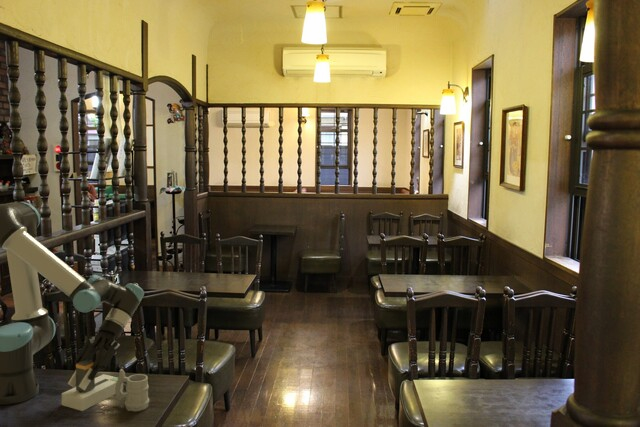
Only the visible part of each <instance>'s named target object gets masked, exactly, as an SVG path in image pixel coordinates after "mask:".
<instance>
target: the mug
mask: <svg viewBox="0 0 640 427" xmlns="http://www.w3.org/2000/svg"><path fill="white" fill-rule="evenodd" d="M117 378H118V380H117V383H116V386H115V392H116V393H115V394H114V395H115V397H116V399H117V401H118V402H121V401H122V400H123V399H125V400H124V406H125V409H126V411H129V412H140V411H144V410H146V409H147V408H148V407H149V403H150V397H149V382H148V379H149V377H148V375H146V374H143V373H142V374H141V373H137V374H132V375H129V376H126V372H125V370H124V369H123V368H121V369H119V374H118V376H117ZM123 381H127V386H126V389H125V392H123V390H121V384H122V383H123Z"/></svg>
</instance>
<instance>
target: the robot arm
mask: <svg viewBox="0 0 640 427" xmlns="http://www.w3.org/2000/svg"><path fill="white" fill-rule="evenodd" d="M40 223H41V215H40V213H39V211H38V210H37V208H36V207H35V206H33V205H32V204H30V203H28V202H24V201H23V202H22V201H14V202H7V203H0V248H2V249H3V250H6V257H7V264H8V265H7V266H8V271H9V277H10V284H11V291H12V297H13V298H12V299H13V303H14V310H15V311H14V313H13V315H12V316H11V323H8V324H5V325H2V326H0V405H2V406H3V405H13V404H17V403H22V402H25V401H28V400H30V399H32V398H35V397H36V395H38V394H39V392H40V390H39V388H40V386H39V385H40V384H39V382H38V379H37V376H36V374H35V372H34V355H35V354H36V353H38V352H39V351H40V350H42V349H43V348H45V347H46V346H47V345H49V344H50V342H51V341H52V340H53V338H54V337H55V336H56V330H57V329H56V324H55V322H54V320H53V318H51V317H50V316H49V311H48V309H46V308H44V307H43V301H42V295H41V288H40V281H39V274H40V275H41V276H42V277H44V279H46V280H47V281H49V282H50V283H51V284H52V285H53V286H55V287H56V288H58V289H59V291H61V292H63V294H65V295H66V296H68V297H69V298H70V299H71V300H72V305H73V307H74V309H76V310H77V311H78V312H81V313H89V312H91V311H94V310H96V308H99V306H100V305H102V304H103V303H106V304H108V305H110V306H112V307H111V308H110V310H109V312H108V314H107V315H106V316H105V319H104V320H103V322H102V323H101V324H100V326H99V327H98V332H97V333H96V334H95V335H94V336H91V335H88V336H87V337H86V341H85V343H84V344H83V346H82V347H81V349H80V351H79V352H78V354H77V356H76V357H75V359H74V363H75V364H77V363H79V362H82V361H84V360H89V361H91V359H92V358H94V356H95V355H96V353H97V352H98V353H97V356H96V358H95V361H93V362H94V365H93V366H91V367H92V368H93V369H92V368H89V370H88V372H87V373H86V375H85V377H84V378H83V380H82V382H81V383H80V385H79V387H80V388H81V389H83V390H85V389H86V388H87V386H88V384H89V383H90V381H91V380H93V379H94V377H95V378H96V375H97V373H98V372H100V371H102V372H104V371H105V369H106V368H107V367H108V365H109V363H110V362H111V360H112V359H113V357H114V356H115V354H116V352H117V351H118V350H119V349H120V348H121V346H122V345H121V344H120V343H118V341H117V340H118V339H120V337H121V336H122V333H123V332H124V329H125V328H126V327H127V325H128V323H129V322H130V320H131V318H132V317H133V316H134V313H136V312H135V311H136V310H137V309H138V307H139V305H140V303H141V301H142V299H143V298H144V296H145V290H144V289H143V288H142V287H140V285H137V284H135V283H131V282H130V283H127V284H126V285H124V286H122V285H119V284H118V283H116V282H114V281H111V280H109V279H108V278H107V279H106V278H105V277H103V276H101V275H98V274H93V275H91V276H90V277H89V278H88V279H87V280H86V278H85V277H83V276H82V275H81V274H79V273H78V272H77V271H75V270H74V269H73V268H72V267H71V266H69V264H67V263H66V262H64V261H63V260H62V259H61V258H59V257H58V256H57V255H55V254H54V253H53V252H52V251H51V250H50V249H48V248H47V247H46V246H45V245H43V244H42V243H41V242H40V241H38V240H37V239H38V233H37V228H38V227H39V225H40ZM38 273H39V274H38ZM67 385H69V386H71V387H72V388H75V387H76V367H75V369H74V370H73V372H72V376H71V377H70V379H69V381H68V382H67Z"/></svg>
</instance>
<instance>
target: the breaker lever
mask: <svg viewBox="0 0 640 427" xmlns="http://www.w3.org/2000/svg"><path fill="white" fill-rule="evenodd" d="M94 362H95V361H92V360H90V361H89V360H84V361H82V362H79V363H75V368H76V385H75V387H76V390H78V391H81V392H87V391H89V390H91V389H93V388H95V378H96V376H95V377H94V379H93V380H91V381H90V383H89V384H88V386H87V388H86V389H85V390H83V389H81V388H80V387H79V385H80V383H81V382H82V380H83V378H84V377H85V375H86V373H87V372H88V370H89V368H92V367H91V366H93V365H94ZM92 369H93V368H92Z"/></svg>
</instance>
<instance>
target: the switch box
mask: <svg viewBox="0 0 640 427" xmlns="http://www.w3.org/2000/svg"><path fill="white" fill-rule="evenodd" d="M117 380H118V376H117V377H116V376H112V375H109V374H104V373H102V374H101V375H99V376H97V377H95V388H93V389H91V390H89V391H87V392H81V391H78V390H76V386H75V387H72V388H70V389H69V390H66V391H64V392H61V406H64V407H68V408H71V409H74V410H77V411H81V412H83V411H85V410H87V409H89V408H91V407H93V406H94V405H97V404H99V403H100V402H103V401H104V400H107V399H108V398H110V397H113V396H114V395H115V393H116V392H115V386H116V383H117ZM121 390H122V391H124V388H123V383H122V384H121Z"/></svg>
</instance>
